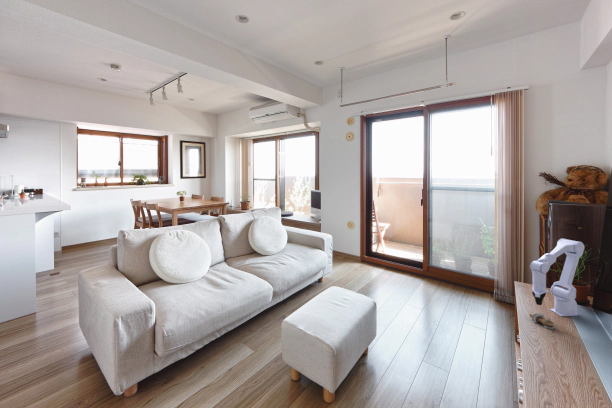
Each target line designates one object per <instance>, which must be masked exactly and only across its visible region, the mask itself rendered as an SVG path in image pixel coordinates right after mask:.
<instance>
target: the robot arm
mask: <svg viewBox="0 0 612 408" xmlns="http://www.w3.org/2000/svg"><path fill="white" fill-rule="evenodd" d="M585 248H586V247H585V244H584V243H583V242H582V241H576V240H571V239H567V238H560V239H558V240H557V243H556V246H555V247H554V248H553V250H551V251H550V252H549V253H548V252H547V253H544V254H543V255H542V256H541V257H540V258H538V259H537V260H533V261H531V262H530V265H529V269H530V270H531V273H532V287H531V290H532V292H531V293H532V295H533V297H534V300H535V304H536V305H539V306H542V305H543V302H544V298H545V297H546V296H547V293H549V292H550V293H551V295H552V297H553V298H554V306H553V307H554V308H550V309H549V310H550V311H552V312H554V313H555V314H557V315H558V316H560V317H573V316H579V314H578V303H577V300H575V299H576V298H577V289H576V288H575V287H574V285H573V281H574V277H575V273H576V270H577V267H578V264H579V260H580V257H582V256H583V254H584V252H585V251H584V250H585ZM563 254H565V255H566V257H565V261H564V264H563V269H562V270H561V271H562V272H561V275H560V278H559V280H558V281H554V282H553V284H552V285H551V287H550V291H549V290H548V289H547V273H548V272H549V269H550V268H551V266H552V265H553V264H554V263H556V261H557V258H558V257H560V256H561V255H563Z"/></svg>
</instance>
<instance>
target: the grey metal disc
mask: <svg viewBox="0 0 612 408" xmlns="http://www.w3.org/2000/svg"><path fill="white" fill-rule="evenodd" d="M542 327H544V328H546V329H548V330H553V331H554V330H556V327H555V325H554V326H553V327H548V326H546V325H544V324H543V323H542Z"/></svg>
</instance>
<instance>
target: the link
mask: <svg viewBox="0 0 612 408" xmlns="http://www.w3.org/2000/svg"><path fill="white" fill-rule="evenodd" d="M534 313H535V312H531V313H529V318H531V319H533V320H534V316H533V314H534ZM538 322H539V323H541V324H542V325H543V324H544V325H546V326H548V327H553V326H555V325H554V323H555V322H554V321H552V319H551V317H547V318H546V317H545V316H544V317H538Z"/></svg>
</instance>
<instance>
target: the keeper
mask: <svg viewBox="0 0 612 408" xmlns="http://www.w3.org/2000/svg"><path fill="white" fill-rule="evenodd" d="M533 313H534V314H533V316H534V319H533V322H534V323H535V324H538V322H539V321H538V317H544V318H545V315H544V314H542V313H541V312H533Z"/></svg>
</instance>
